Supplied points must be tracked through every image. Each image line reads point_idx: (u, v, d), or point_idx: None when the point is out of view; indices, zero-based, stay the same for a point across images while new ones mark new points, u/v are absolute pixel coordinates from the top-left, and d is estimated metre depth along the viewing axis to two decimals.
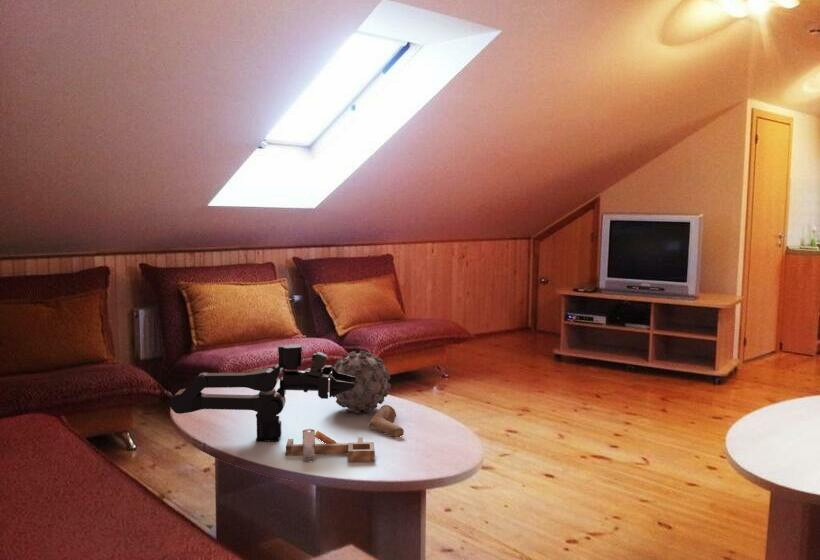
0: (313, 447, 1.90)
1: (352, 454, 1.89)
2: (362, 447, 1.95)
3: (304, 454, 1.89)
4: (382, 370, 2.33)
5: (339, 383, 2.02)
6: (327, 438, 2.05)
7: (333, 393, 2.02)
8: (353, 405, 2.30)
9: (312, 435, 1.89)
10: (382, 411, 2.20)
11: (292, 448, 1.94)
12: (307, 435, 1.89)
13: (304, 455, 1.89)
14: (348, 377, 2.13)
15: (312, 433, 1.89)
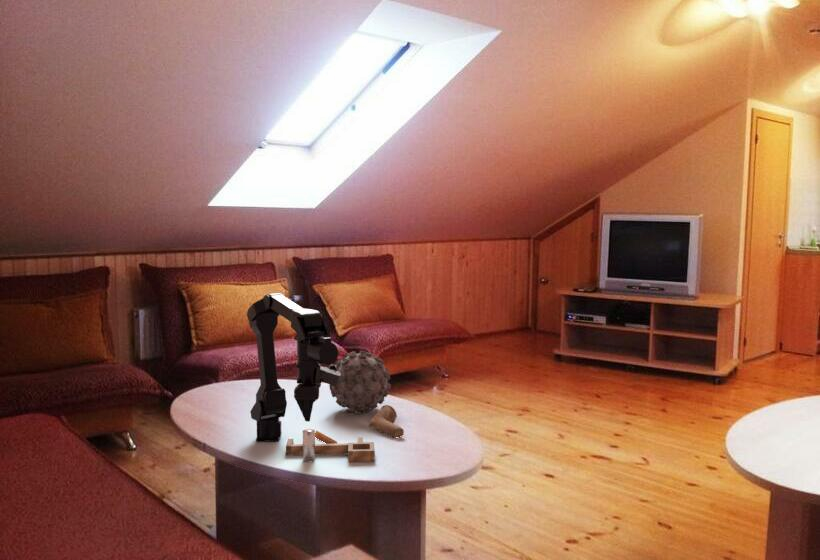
0: (313, 447, 1.90)
1: (352, 454, 1.89)
2: (362, 447, 1.95)
3: (304, 454, 1.89)
4: (382, 370, 2.33)
5: (310, 406, 1.83)
6: (327, 438, 2.05)
7: (298, 401, 1.82)
8: (353, 405, 2.30)
9: (312, 435, 1.89)
10: (382, 411, 2.20)
11: (292, 448, 1.94)
12: (307, 435, 1.89)
13: (304, 455, 1.89)
14: None
15: (312, 433, 1.89)
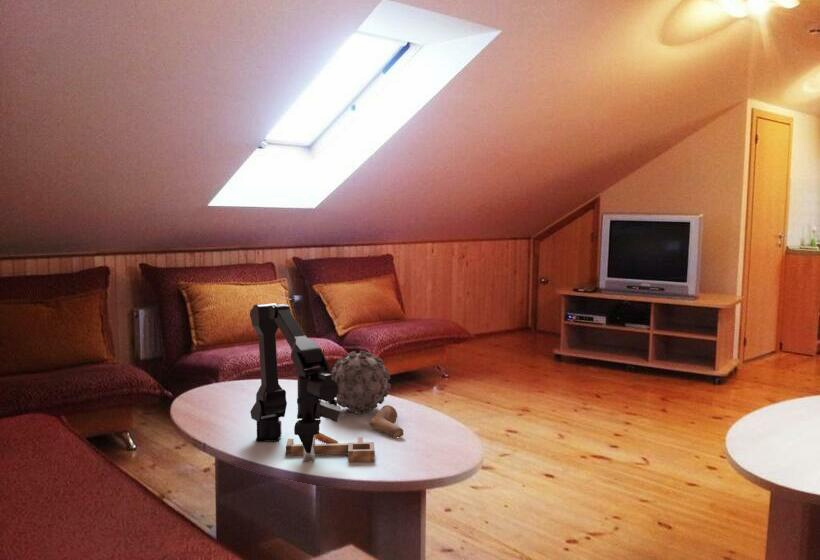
0: (313, 447, 1.90)
1: (352, 454, 1.89)
2: (362, 447, 1.95)
3: (304, 454, 1.89)
4: (382, 370, 2.33)
5: (310, 438, 1.87)
6: (327, 438, 2.05)
7: None
8: (353, 405, 2.30)
9: None
10: (383, 411, 2.19)
11: (292, 448, 1.94)
12: None
13: (304, 455, 1.89)
14: None
15: None
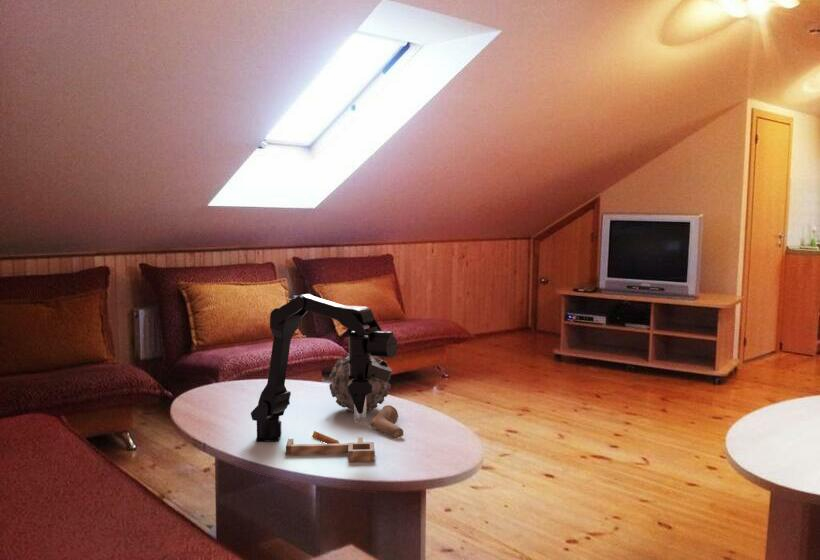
0: (365, 408, 1.91)
1: (352, 454, 1.89)
2: (362, 447, 1.95)
3: (356, 415, 1.90)
4: None
5: (362, 398, 1.88)
6: (328, 438, 2.05)
7: (352, 393, 1.87)
8: (353, 405, 2.30)
9: None
10: (384, 411, 2.19)
11: (292, 448, 1.94)
12: None
13: (356, 416, 1.90)
14: None
15: None
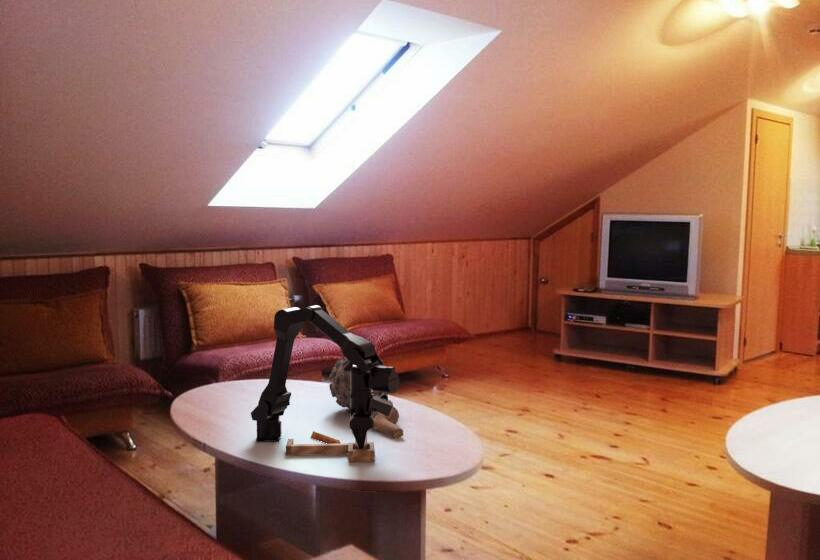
0: (365, 445, 1.92)
1: (352, 454, 1.89)
2: None
3: None
4: None
5: (364, 434, 1.88)
6: (328, 438, 2.05)
7: (353, 429, 1.87)
8: None
9: None
10: None
11: (292, 448, 1.94)
12: None
13: None
14: None
15: None
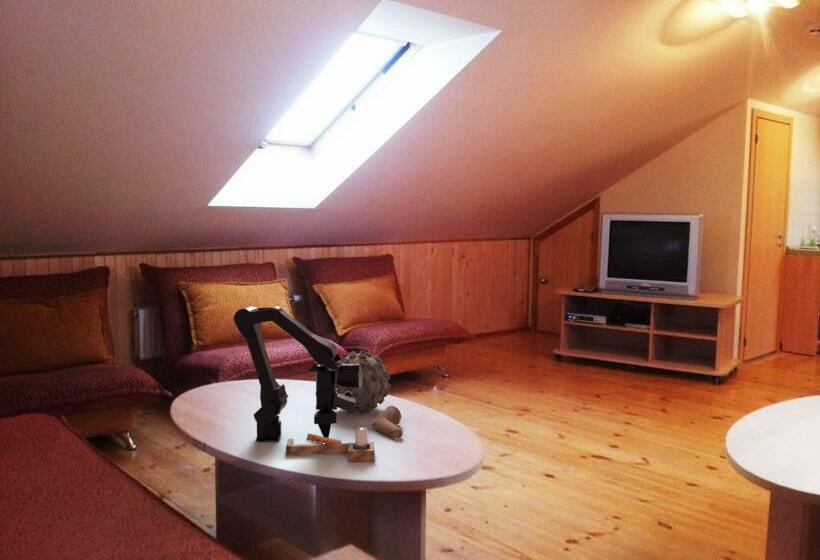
0: (366, 445, 1.92)
1: (352, 454, 1.89)
2: None
3: None
4: (382, 370, 2.33)
5: (328, 426, 2.04)
6: (327, 439, 2.04)
7: None
8: None
9: (365, 433, 1.91)
10: (386, 412, 2.19)
11: (292, 448, 1.94)
12: (360, 433, 1.91)
13: None
14: None
15: (365, 431, 1.91)
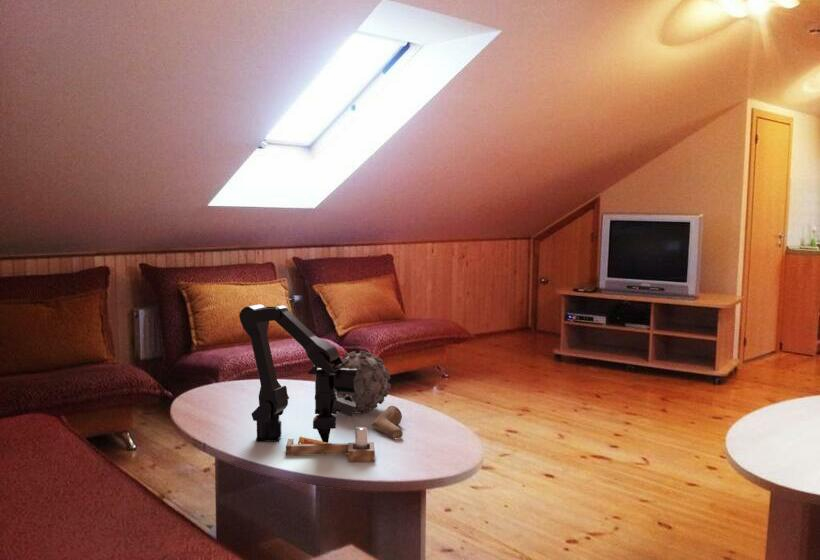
0: (366, 445, 1.92)
1: (352, 454, 1.89)
2: None
3: None
4: (382, 370, 2.33)
5: (328, 431, 2.00)
6: (319, 442, 2.01)
7: None
8: None
9: (364, 433, 1.91)
10: (387, 412, 2.19)
11: (292, 448, 1.94)
12: (360, 433, 1.91)
13: None
14: None
15: (365, 431, 1.91)
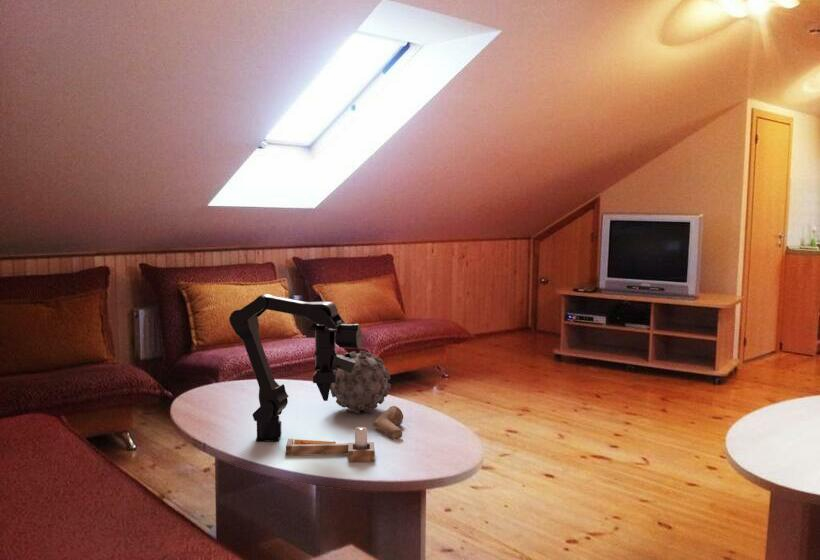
0: (365, 444, 1.92)
1: (352, 454, 1.89)
2: None
3: None
4: (382, 370, 2.33)
5: (328, 387, 2.01)
6: (319, 442, 2.01)
7: None
8: (353, 405, 2.30)
9: (364, 433, 1.91)
10: (388, 412, 2.19)
11: (292, 448, 1.94)
12: (360, 433, 1.91)
13: None
14: None
15: (364, 431, 1.91)
